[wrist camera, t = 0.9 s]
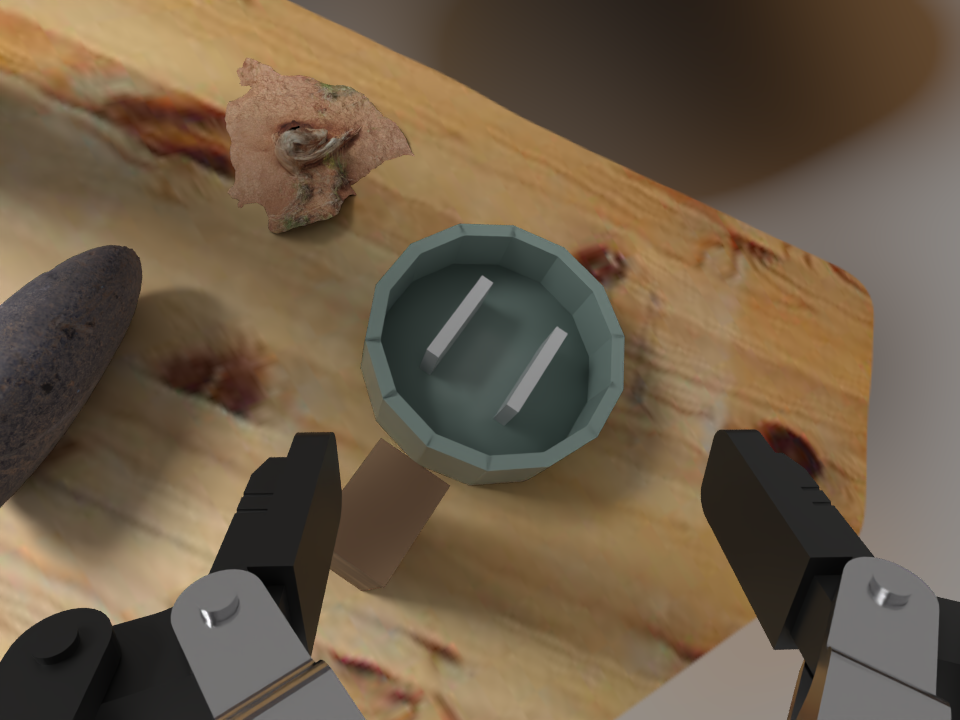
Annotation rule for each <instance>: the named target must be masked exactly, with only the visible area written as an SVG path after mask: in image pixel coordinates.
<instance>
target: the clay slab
mask: <svg viewBox="0 0 960 720" xmlns="http://www.w3.org/2000/svg"><path fill="white" fill-rule="evenodd" d="M237 73H238V76H239V78H240V84H241V85H242V86H248V85H250V87H252V89H250V90H249V91H248V92H247V93H246V94H245V95H243V96H242V97H240V98H238V99H236V100H234V101H229V103H228V105H227V109H226V117H225V121H226V123H227V125H226V128H227V131H228V133H229V135H230V137H231V142H232V144H231V146H230V156H231V158H230V160H231V162H232V165H233V166H234V169H235V170H236V171H235V182H234V185H233V186H232V187H231V188H230V189H229V190H228V191H227V192H228V194H229V195H230V196H231V197H232V198H234V199H238V200H239V203H238V207H239V208H242V207H243V205H244V204H249V203H256V202H257V203H259V204H260V205H262V206H264V208H265V210H266V213H267V215H268V217H269V224H268V228H269V230H270V231H271V232H273V233H280V232H286V231H288V230H290V229H291V228H294V227H298V226H306V225H308V224H310V223H314V222H316V221H319V220H327V219H329V218H330V217H334V216H335V215H336V214H338V213H339V210H340V209H341V204H342V203H343V201H344V199H346V198H347V197H348V196H349V195H351V194H353V195H356V193H355V192H354V191H353V189H352V188H351V186H350V185H352V184H354V183H356V182H357V181H358V180H359V179H361V178H362V177H365V176H366V175H367V174H368V173H369V172H370V170H372V169H374V168H376V167H377V166H379V165H381V164H382V163H383V162H384V161H385V160H390V159H393V158H396V157H399V156H402V155H412V156H414V154H413V153H412V152H411V150H410V147H409V145H408V143H407V142H406V138H405V136H404V134H403V133H402V132H401V130H400V129H399V127H398V126H397V125H396V123H395V122H393V121H391V120H390V119H389V118H386V117H383V116H382V114H381V113H380V112H379V111H378V110H376V108H375V106H374V105H373V104H372V103H371V102H369V99H368V98H367V97H365V95H364V94H362V93H360V92H358V91H356V90H354V89H353V88H351V87H347V86H344V85H336V86H333V85H328V84H324V83H321V82H319V81H317V80H315V79H314V78H310V77H306V76H301V75H297V76H282V75H280V74H278V73H277V72H275V71H273V69H272V68H271V67H270V66H268V65H265V64H262V63H260V62H258V61H256V60H254V59H250V58H246V59H245V61H244V63H243V67H242V68H239V69H238V70H237ZM296 126H300V128H297V129H296V130H289V129H290V128H292V127H296ZM288 130H289V131H288Z"/></svg>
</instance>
